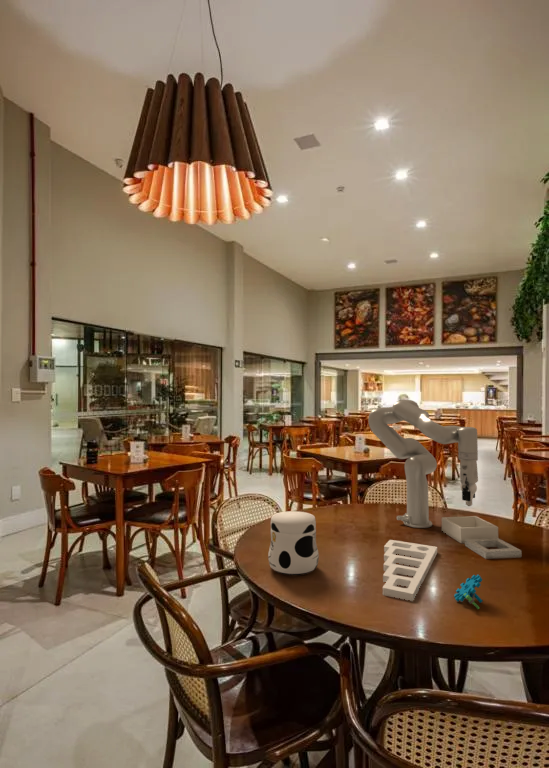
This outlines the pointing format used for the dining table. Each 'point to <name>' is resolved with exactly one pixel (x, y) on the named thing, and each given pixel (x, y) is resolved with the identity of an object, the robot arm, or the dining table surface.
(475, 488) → the lightbulb
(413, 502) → the robot arm
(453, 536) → the bin
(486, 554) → the socket collar
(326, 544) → the dining table surface
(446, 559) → the dining table surface
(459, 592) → the blue lumpy piece
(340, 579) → the dining table surface
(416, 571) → the holder
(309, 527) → the milk container
